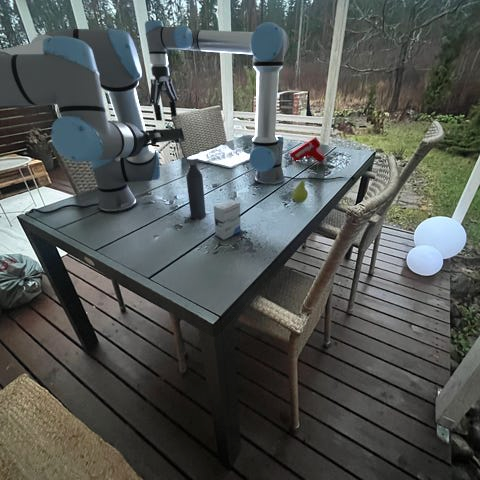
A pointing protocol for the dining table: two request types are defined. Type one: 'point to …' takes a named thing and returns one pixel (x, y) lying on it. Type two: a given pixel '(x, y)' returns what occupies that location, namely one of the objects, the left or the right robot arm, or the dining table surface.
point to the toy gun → (308, 151)
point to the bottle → (195, 192)
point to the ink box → (227, 218)
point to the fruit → (300, 192)
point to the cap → (192, 160)
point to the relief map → (223, 156)
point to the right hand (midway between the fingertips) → (167, 118)
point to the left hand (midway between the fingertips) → (161, 140)
